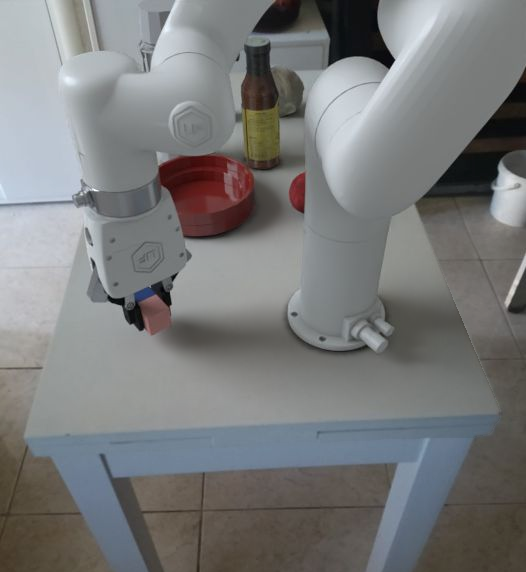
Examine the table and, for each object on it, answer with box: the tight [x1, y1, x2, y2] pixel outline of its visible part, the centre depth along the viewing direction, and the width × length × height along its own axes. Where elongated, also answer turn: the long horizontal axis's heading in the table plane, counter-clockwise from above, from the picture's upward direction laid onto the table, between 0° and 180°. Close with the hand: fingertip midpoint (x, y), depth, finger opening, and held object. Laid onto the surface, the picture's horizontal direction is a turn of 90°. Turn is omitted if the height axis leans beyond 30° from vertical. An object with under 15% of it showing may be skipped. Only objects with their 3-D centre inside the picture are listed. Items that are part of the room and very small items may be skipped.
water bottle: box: [136, 0, 184, 163], centre depth 92 cm, size 9×8×25 cm
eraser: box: [134, 286, 173, 337], centre depth 70 cm, size 6×3×3 cm, turn 37°
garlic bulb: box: [270, 65, 305, 118], centre depth 110 cm, size 9×8×10 cm
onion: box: [288, 171, 306, 214], centre depth 87 cm, size 6×6×8 cm
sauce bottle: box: [240, 36, 281, 170], centre depth 94 cm, size 6×6×20 cm
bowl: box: [158, 153, 256, 237], centre depth 90 cm, size 17×17×4 cm
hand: (149, 316), depth 71 cm, fingers closed on eraser, 3 cm apart
